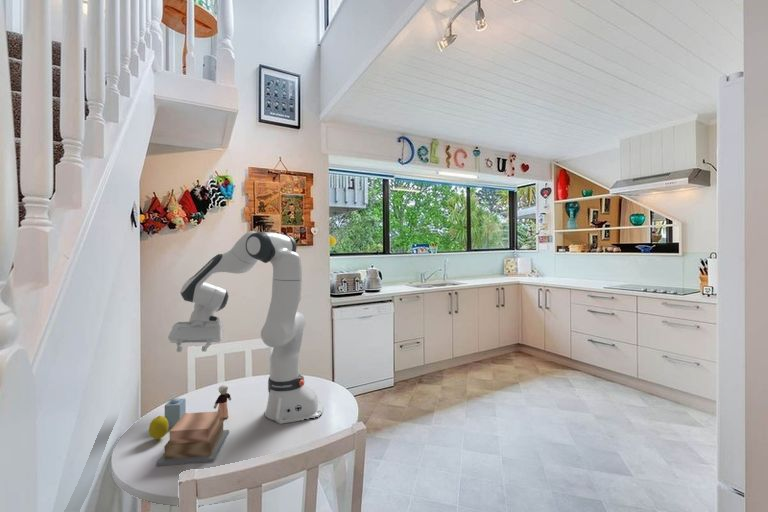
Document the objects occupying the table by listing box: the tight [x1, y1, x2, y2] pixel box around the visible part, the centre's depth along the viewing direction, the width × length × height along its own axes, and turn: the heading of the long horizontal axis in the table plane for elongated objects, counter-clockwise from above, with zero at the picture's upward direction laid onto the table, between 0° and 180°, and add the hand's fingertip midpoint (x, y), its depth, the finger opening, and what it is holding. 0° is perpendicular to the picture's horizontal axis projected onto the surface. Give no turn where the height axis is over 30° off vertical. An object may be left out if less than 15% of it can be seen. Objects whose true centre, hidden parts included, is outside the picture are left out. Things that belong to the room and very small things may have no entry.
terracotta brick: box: [163, 410, 224, 459], centre depth 110 cm, size 13×13×8 cm
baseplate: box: [156, 429, 230, 467], centre depth 110 cm, size 16×16×1 cm
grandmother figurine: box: [213, 384, 232, 422], centre depth 129 cm, size 8×4×13 cm, turn 168°
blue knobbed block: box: [164, 397, 187, 428], centre depth 124 cm, size 5×5×9 cm
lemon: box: [148, 415, 170, 441], centre depth 114 cm, size 6×6×8 cm
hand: (191, 351), depth 138 cm, fingers open, 8 cm apart
